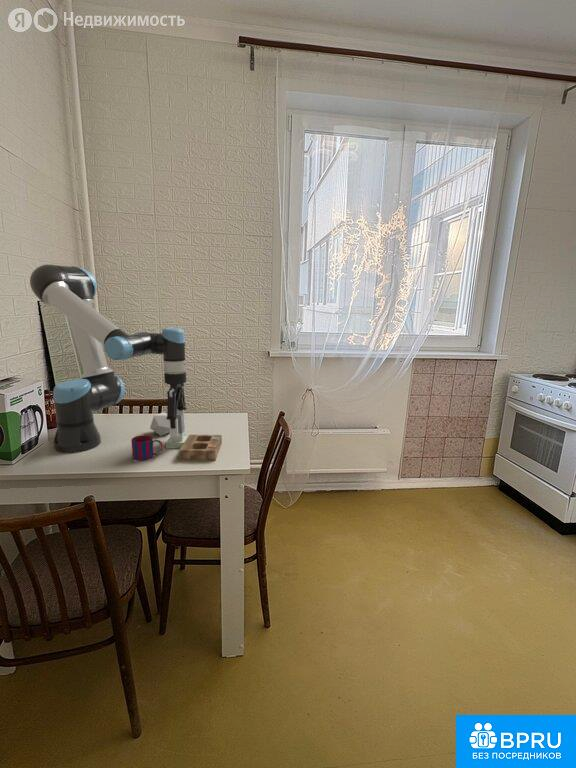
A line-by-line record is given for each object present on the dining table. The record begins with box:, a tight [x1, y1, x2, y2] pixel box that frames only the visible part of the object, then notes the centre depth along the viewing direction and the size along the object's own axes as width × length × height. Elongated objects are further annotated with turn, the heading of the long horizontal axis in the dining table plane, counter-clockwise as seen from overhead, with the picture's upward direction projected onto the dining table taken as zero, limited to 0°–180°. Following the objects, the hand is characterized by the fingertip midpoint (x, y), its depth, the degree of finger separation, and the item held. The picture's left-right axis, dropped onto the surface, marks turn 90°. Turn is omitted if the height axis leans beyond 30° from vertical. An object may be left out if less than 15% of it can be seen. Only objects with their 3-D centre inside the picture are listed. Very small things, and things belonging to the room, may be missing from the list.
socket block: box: [179, 434, 223, 461], centre depth 136 cm, size 12×15×4 cm
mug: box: [131, 434, 164, 462], centre depth 129 cm, size 7×10×7 cm
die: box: [149, 411, 170, 437], centre depth 152 cm, size 8×9×10 cm
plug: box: [171, 411, 186, 441], centre depth 141 cm, size 4×4×10 cm
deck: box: [165, 435, 189, 449], centre depth 142 cm, size 7×7×2 cm
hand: (177, 431), depth 141 cm, fingers open, 9 cm apart
